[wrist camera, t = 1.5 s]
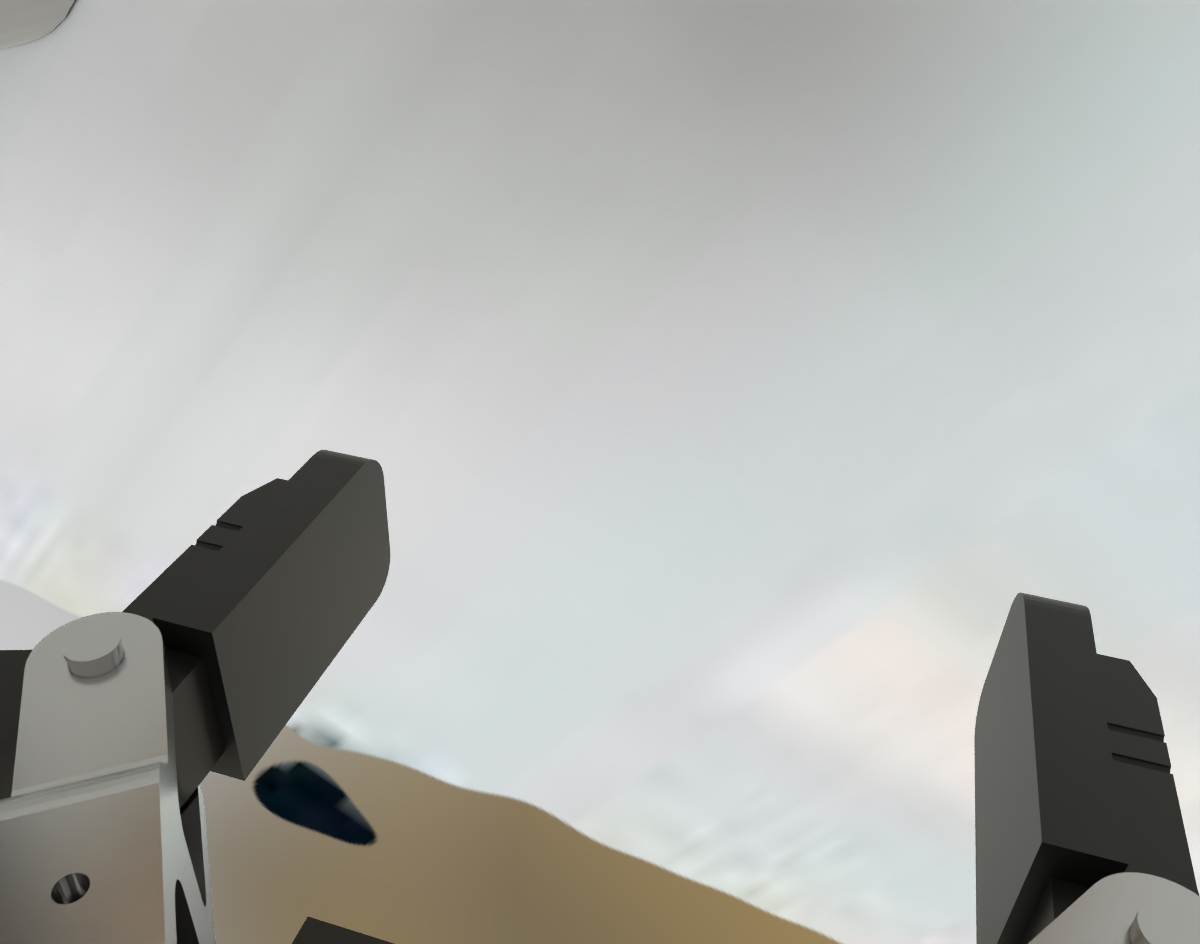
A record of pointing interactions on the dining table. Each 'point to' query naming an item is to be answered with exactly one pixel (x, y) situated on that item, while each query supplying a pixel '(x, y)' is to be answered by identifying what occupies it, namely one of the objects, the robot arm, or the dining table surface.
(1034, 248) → the dining table surface
